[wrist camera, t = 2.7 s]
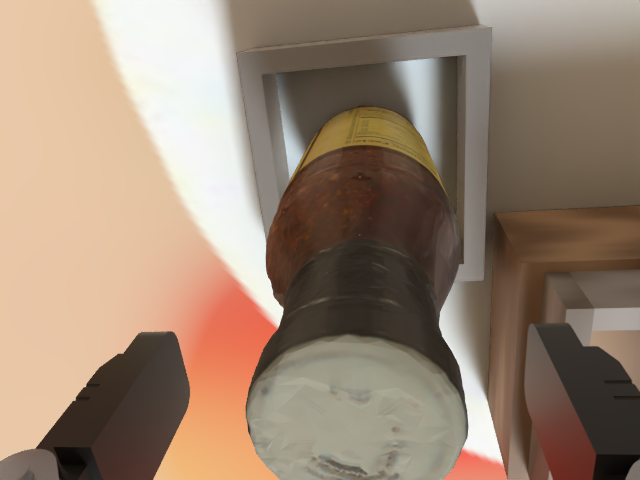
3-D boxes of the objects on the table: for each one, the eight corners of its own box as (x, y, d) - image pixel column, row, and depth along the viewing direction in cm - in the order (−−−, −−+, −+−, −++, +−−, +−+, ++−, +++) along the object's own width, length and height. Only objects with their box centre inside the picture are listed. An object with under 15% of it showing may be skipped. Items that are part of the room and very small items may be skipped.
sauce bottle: (366, 235, 29) (332, 605, 11) (286, 158, 28) (99, 435, 10) (457, 157, 27) (603, 468, 9) (374, 68, 25) (343, 216, 7)
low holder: (479, 24, 24) (491, 27, 21) (474, 255, 29) (483, 281, 26) (252, 48, 26) (236, 53, 23) (283, 262, 30) (273, 287, 28)
